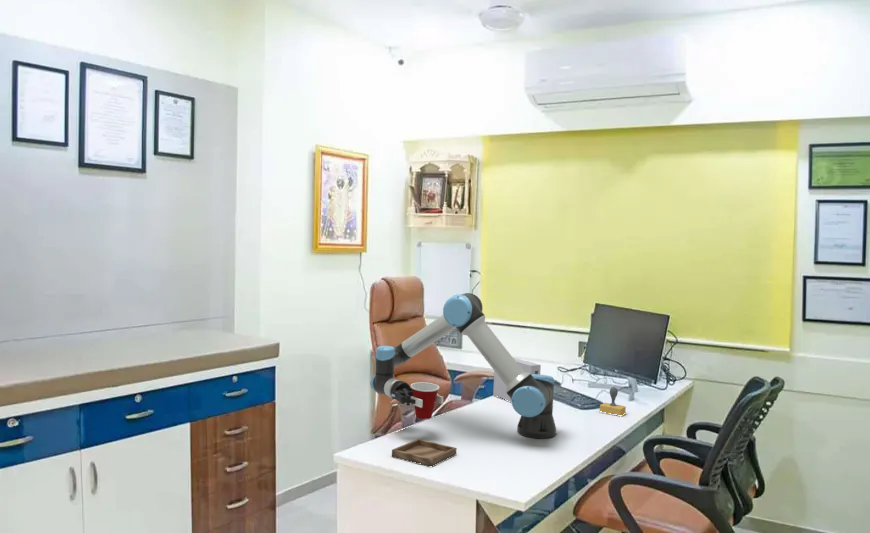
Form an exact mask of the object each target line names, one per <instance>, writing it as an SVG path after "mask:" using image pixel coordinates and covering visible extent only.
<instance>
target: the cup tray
mask: <svg viewBox="0 0 870 533" xmlns="http://www.w3.org/2000/svg"><path fill="white" fill-rule="evenodd" d="M457 449H458V448H457V447H455V446H450V445H445V444H442V443H438V442H433V441H428V440H424V439H421V438H417V439H415V440H413V441H410V442H407V443H405V444H403V445H400V446H398V447H395V448H393V449H392V450H391V458H395V457H396V458H395V459H398V458H400V459H399V460H402V459H404V460H403V461H406V460H408V461H407V462H410V461H412V462H411V463H413V462H416V463H415V464H417V463H421V464H424V465H423V466H425V465H428V466H427V467H429V466H432V467H434V466H433V465H435V464H437V463H439V462H441V461H443V460H445V459H447V458H449V457H451V456H453V455H455V454H456V455H457ZM456 455H455V456H456ZM453 457H454V456H453ZM451 458H452V457H451ZM449 459H450V458H449ZM447 460H448V459H447ZM445 461H446V460H445ZM443 462H444V461H443ZM441 463H442V462H441ZM421 464H420V465H421ZM439 464H440V463H439ZM437 465H438V464H437ZM435 466H436V465H435Z"/></svg>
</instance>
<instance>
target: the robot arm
mask: <svg viewBox="0 0 870 533" xmlns="http://www.w3.org/2000/svg"><path fill="white" fill-rule="evenodd" d="M483 307H484V306H483V303H482V300H481V299H480V297H478V296H477V295H476V294H474V293H471V292H470V293H469V292H468V293H467V292H466V293H461V294H459V293H458V294H455V295H453V296H451V297H449V298H447V300H446V301H445V303H444V305H443V308H442V310H443V311H442V315H441V316H439V317H438V318H436V319H434V320H433V321H432V322H430V323H429V324H427V325H426V326H424V327H423V328H421V329H420V330H418V331H417V332H416V333H414V334H413V335H411V336H409V337H408V338H407V339H405V340H404V341H401V343H399V344H398V345H397V346H392V345H380V346H377V347H376V349H375V350H376V351H375V374H374V375H372V377H371V380H370V388H371V389H372V390H373V391H374V392H375V393H377V394H379V395H381V396H382V395H383V396H385V397H388V398H391V399H392V400H395V401H397V402H399V403H400V404H402V405H405V404H406V406H410V405H413V406H414V405H415V406H418V407H420V408H421V407H422V406H423V400H421V399H419V398H416V397H413V392H412V388H411V385H410V384H409V383H407V382H406V381H403V380H400V379H397V378H395V367H399V366H402V365H404V364H405V363H407V362H408V361H409V360H410V359H411V358H413V357H414V356H417V354H419V353H420V352H422V351H424V350H426V349H427V348H428V347H430V346H431V345H432V344H435V343H436V342H438V341H439V340H440V339H441V338H443V337H445V336H446V335H448V334H450V333H451V332H452V331H454V330H455V329H456V330H457V331H458V332H459V334H460V335H461V336H462V335H463V336H466V337H468V339H469V340H470V341H471V342H472V344H473V345H474V346H475V348H476V349H477V350H478V352H479V353H480V355H481V356H482V357H483V358H484V359H485V361H486V362H487V363H488V364H489V366H490V367H491V368H492V370H493V371H495V372H496V373H497V375H498V376H499V377H500V379H501V380H502V381H503V383H504V384H505V385H506V393H507V394H508V396H509V397H510V398H511V400H512V403H511V406H512V408H513V410H514V411H515V412H516V413H517V414H518V415H520V417H519V421H518V424H517V426H516V427H517V429H516V432H517V433H518V434H519V435H520V436H524V437H526V438H532V439H551V438H553V437H555V436H556V435H557V427H556V423H555V419H554V416H553V414H554V413H553V408H554V392H555V391H554V390H555V388H554V387H555V379H554V377H553V376H551V375H545V374H540V375H539V374H530V373H526V372H524V371H523V370H522V369H521V367H520V366H519V365H518V364H517V362H516V361H515V360H514V358H515V357H513V356H512V354H511V353H510V352H509V351H508V350H507V348H506V347H505V345H504V344H503V342H501V340H500V339H499V338H498V337H497V336H496V334H495V333H494V331H492V329H491V328H490V326H488V324H487V322H486V315H485V314H484V313H483ZM435 404H440V405H443V404H444V396H441V395H439V394H437V395H436V399H435Z"/></svg>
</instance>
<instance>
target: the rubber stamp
mask: <svg viewBox="0 0 870 533" xmlns="http://www.w3.org/2000/svg"><path fill="white" fill-rule="evenodd" d="M618 392H619V391H618V388H617V387H615V386H612V387H611V388H610V389H609V394H610V399H611V402H610V403H609V402H603V403H601V404H600V405H599V412H600V411H602V412H606V413H611V414H617V415H623V414H624V413H625V414H626V408H627V407H626V406H624V405H620V404H616V402H615V401H616V399H617V396H618ZM623 416H624V415H623Z"/></svg>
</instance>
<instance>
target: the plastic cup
mask: <svg viewBox="0 0 870 533" xmlns="http://www.w3.org/2000/svg"><path fill="white" fill-rule="evenodd" d="M410 388H412V392H413V397H416V398H419V399H421V400H423V406H422V407H421V408H420V407H418V406H415V405H413V406H414V411H415V412H414V413H415V417H416V418H417V419H420V420H428V419H431V418H432V416H433V412H434V408H435V404H436V402H435V399H436V395H438V391H439V389H440V386H439V385H438V384H435V383H431V382H427V381H425V382H423V381H422V382H421V381H419V382H413V383H411V384H410Z"/></svg>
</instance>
